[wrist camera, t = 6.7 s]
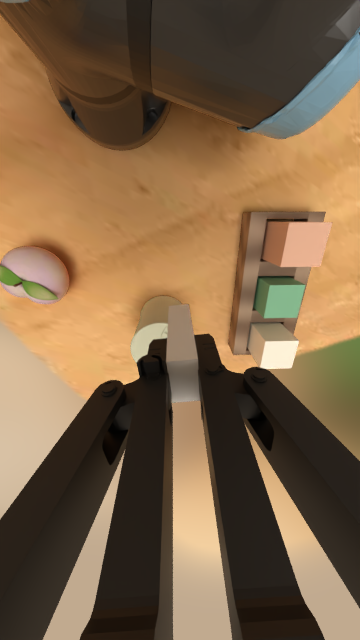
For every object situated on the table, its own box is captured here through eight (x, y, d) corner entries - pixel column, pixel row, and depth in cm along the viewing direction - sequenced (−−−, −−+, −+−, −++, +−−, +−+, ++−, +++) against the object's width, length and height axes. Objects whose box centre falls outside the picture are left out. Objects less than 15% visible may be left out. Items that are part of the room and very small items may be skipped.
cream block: (250, 321, 39) (265, 341, 33) (278, 321, 40) (299, 340, 33) (246, 346, 42) (259, 368, 36) (273, 345, 42) (291, 368, 36)
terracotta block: (266, 221, 32) (289, 222, 26) (301, 221, 32) (332, 222, 26) (260, 258, 34) (280, 267, 28) (293, 257, 35) (320, 266, 28)
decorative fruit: (84, 255, 36) (55, 267, 27) (76, 297, 39) (48, 320, 30) (26, 233, 34) (-26, 239, 25) (22, 279, 38) (-25, 299, 29)
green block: (253, 274, 38) (269, 285, 31) (283, 273, 38) (305, 284, 31) (249, 302, 40) (263, 318, 34) (277, 302, 40) (297, 317, 34)
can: (193, 302, 41) (200, 333, 30) (179, 342, 44) (181, 381, 34) (146, 289, 39) (136, 317, 28) (136, 331, 43) (124, 369, 32)
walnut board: (243, 212, 34) (251, 212, 31) (309, 212, 34) (325, 211, 31) (228, 344, 45) (233, 354, 41) (279, 342, 45) (288, 353, 42)
